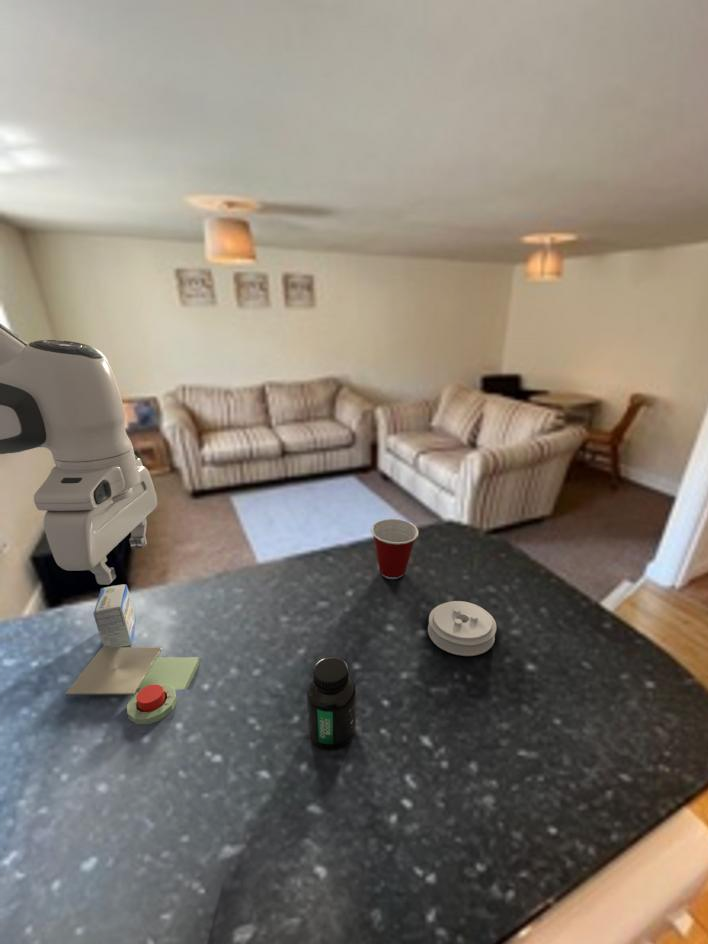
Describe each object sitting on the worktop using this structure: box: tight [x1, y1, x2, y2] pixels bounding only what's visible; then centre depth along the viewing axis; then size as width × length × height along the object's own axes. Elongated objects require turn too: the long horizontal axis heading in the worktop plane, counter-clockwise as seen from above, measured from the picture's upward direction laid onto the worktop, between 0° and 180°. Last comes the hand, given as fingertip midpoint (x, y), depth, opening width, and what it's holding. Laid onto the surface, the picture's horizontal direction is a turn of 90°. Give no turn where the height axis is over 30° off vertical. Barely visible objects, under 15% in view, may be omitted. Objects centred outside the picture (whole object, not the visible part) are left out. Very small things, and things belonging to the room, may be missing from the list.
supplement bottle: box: [306, 656, 357, 751], centre depth 64 cm, size 7×7×12 cm
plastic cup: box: [370, 518, 419, 577], centre depth 103 cm, size 11×11×12 cm
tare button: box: [136, 684, 166, 712], centre depth 66 cm, size 4×4×2 cm
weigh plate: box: [65, 646, 163, 696], centre depth 72 cm, size 10×10×1 cm
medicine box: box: [93, 584, 137, 647], centre depth 82 cm, size 8×4×9 cm, turn 22°
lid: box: [427, 600, 497, 657], centre depth 85 cm, size 13×13×5 cm
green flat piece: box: [126, 656, 201, 725], centre depth 70 cm, size 16×14×3 cm
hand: (124, 563), depth 64 cm, fingers open, 8 cm apart
